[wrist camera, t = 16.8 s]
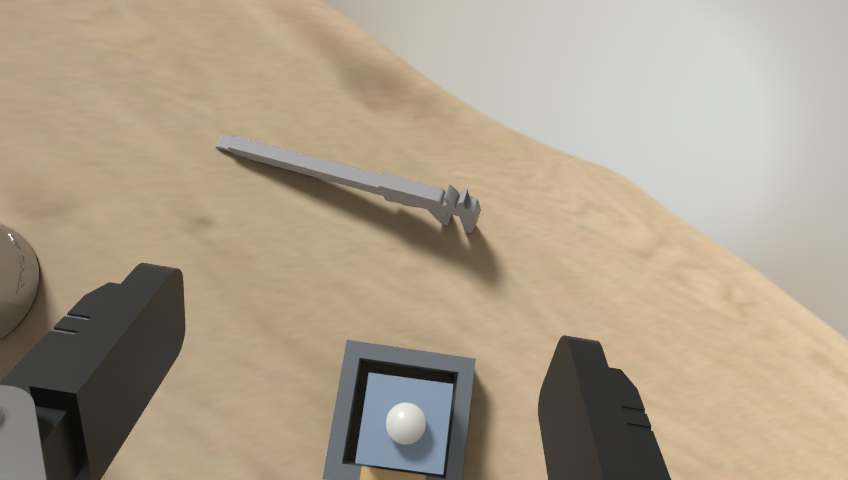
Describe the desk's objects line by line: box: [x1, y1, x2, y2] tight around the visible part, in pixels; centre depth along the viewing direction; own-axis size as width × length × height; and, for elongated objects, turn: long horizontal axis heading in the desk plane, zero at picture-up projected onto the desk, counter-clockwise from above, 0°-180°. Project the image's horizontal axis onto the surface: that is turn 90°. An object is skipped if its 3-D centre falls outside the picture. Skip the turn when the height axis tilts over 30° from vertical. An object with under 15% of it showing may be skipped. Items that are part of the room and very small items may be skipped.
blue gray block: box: [355, 373, 453, 475], centre depth 34 cm, size 4×4×11 cm
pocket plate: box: [323, 340, 476, 480], centre depth 38 cm, size 9×8×3 cm
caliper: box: [216, 135, 481, 233], centre depth 41 cm, size 20×1×6 cm, turn 71°
